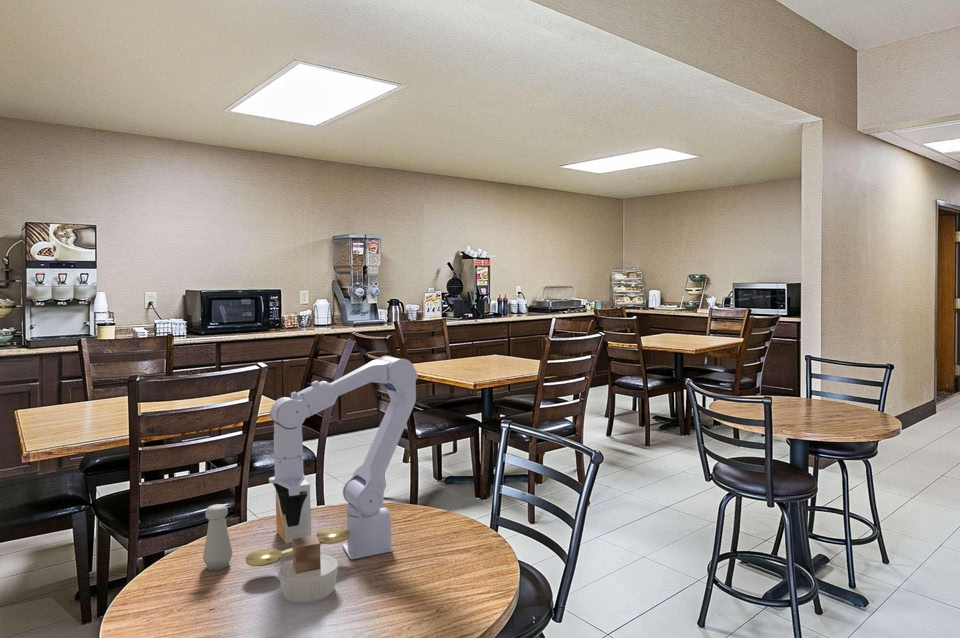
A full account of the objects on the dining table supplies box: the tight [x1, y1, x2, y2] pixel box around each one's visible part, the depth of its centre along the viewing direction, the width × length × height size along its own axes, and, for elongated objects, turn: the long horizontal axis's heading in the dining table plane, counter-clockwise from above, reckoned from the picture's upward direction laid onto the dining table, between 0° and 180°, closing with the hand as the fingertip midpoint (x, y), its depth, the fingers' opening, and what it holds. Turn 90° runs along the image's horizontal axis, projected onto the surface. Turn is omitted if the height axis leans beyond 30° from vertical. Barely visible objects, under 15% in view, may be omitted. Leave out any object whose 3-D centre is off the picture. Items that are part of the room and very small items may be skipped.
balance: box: [245, 527, 349, 567], centre depth 128 cm, size 21×7×6 cm, turn 115°
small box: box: [275, 478, 312, 544], centre depth 146 cm, size 8×6×13 cm
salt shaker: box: [202, 503, 233, 571], centre depth 130 cm, size 6×6×13 cm
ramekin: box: [277, 554, 339, 605], centre depth 118 cm, size 11×11×5 cm
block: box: [292, 534, 321, 574], centre depth 118 cm, size 4×4×5 cm
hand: (290, 519), depth 128 cm, fingers open, 7 cm apart
